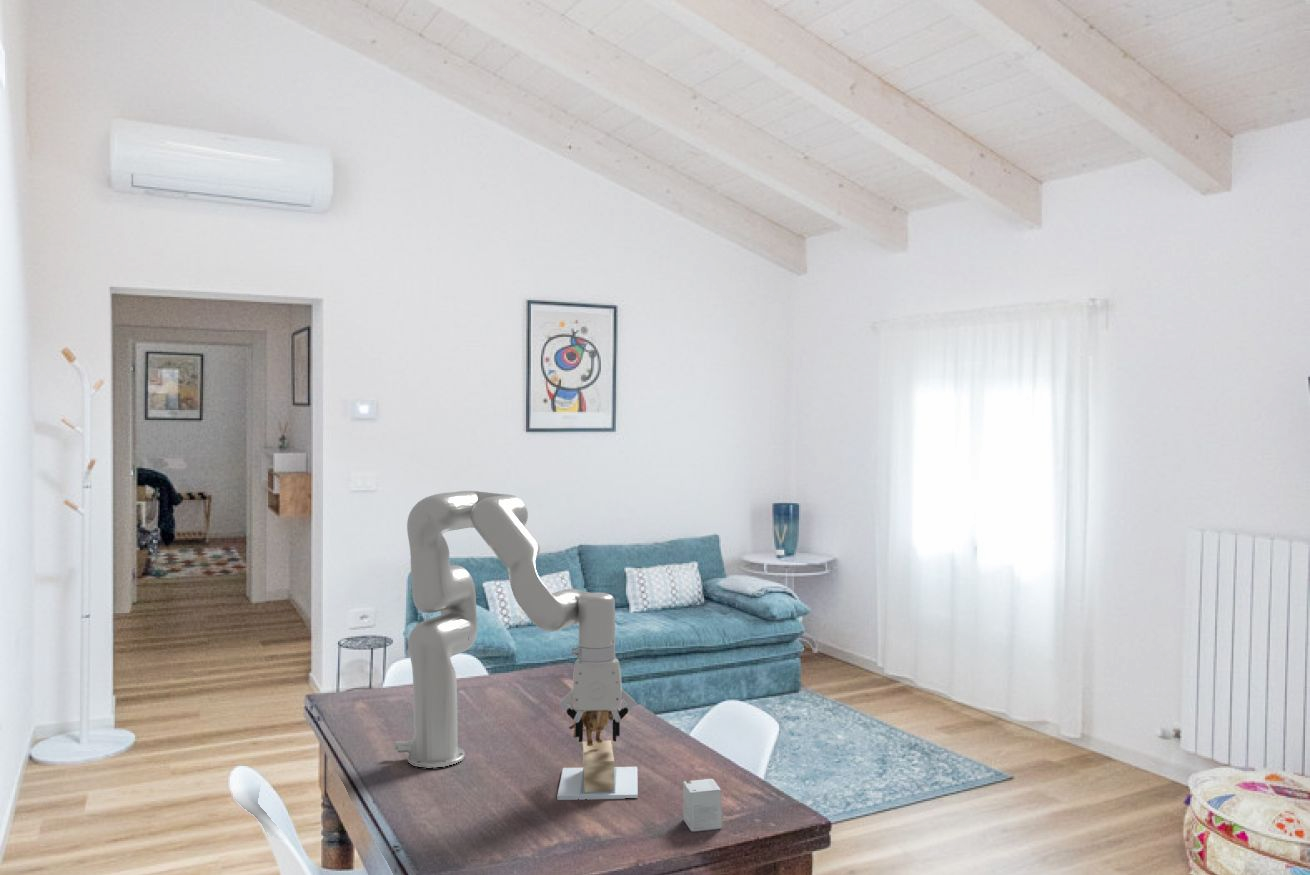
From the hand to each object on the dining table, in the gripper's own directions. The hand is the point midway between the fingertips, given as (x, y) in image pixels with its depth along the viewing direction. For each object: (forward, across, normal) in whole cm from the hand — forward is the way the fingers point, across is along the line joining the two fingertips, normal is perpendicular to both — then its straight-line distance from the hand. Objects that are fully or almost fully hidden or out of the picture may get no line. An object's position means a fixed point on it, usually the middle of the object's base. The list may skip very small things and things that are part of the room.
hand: (597, 738), depth 204 cm
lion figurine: (+1, -2, +3) cm, 4 cm away
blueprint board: (+9, 0, 0) cm, 9 cm away
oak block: (+8, 0, 0) cm, 8 cm away
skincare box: (+10, +20, -21) cm, 31 cm away
